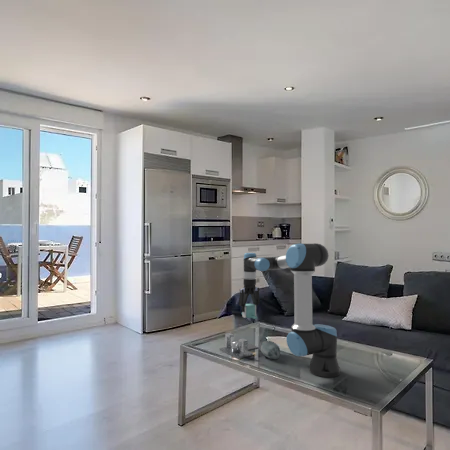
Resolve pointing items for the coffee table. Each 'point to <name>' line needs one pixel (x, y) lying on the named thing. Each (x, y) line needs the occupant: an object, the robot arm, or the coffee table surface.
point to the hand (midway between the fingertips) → (249, 316)
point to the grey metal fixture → (236, 347)
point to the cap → (250, 311)
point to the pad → (251, 347)
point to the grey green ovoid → (270, 349)
